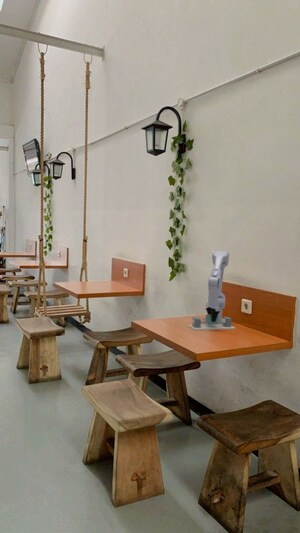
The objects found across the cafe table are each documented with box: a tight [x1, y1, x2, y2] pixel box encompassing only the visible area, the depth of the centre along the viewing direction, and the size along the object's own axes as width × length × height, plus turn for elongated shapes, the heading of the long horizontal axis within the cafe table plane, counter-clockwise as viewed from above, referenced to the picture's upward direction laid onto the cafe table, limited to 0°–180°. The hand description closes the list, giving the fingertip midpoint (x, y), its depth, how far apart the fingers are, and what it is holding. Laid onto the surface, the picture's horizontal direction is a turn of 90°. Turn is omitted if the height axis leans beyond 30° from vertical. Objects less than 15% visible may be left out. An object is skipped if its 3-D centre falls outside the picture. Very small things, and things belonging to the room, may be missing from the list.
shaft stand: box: [188, 316, 236, 331], centre depth 240 cm, size 9×25×6 cm, turn 104°
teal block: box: [204, 313, 218, 325], centre depth 239 cm, size 6×4×5 cm, turn 105°
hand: (212, 321), depth 240 cm, fingers closed on teal block, 4 cm apart
